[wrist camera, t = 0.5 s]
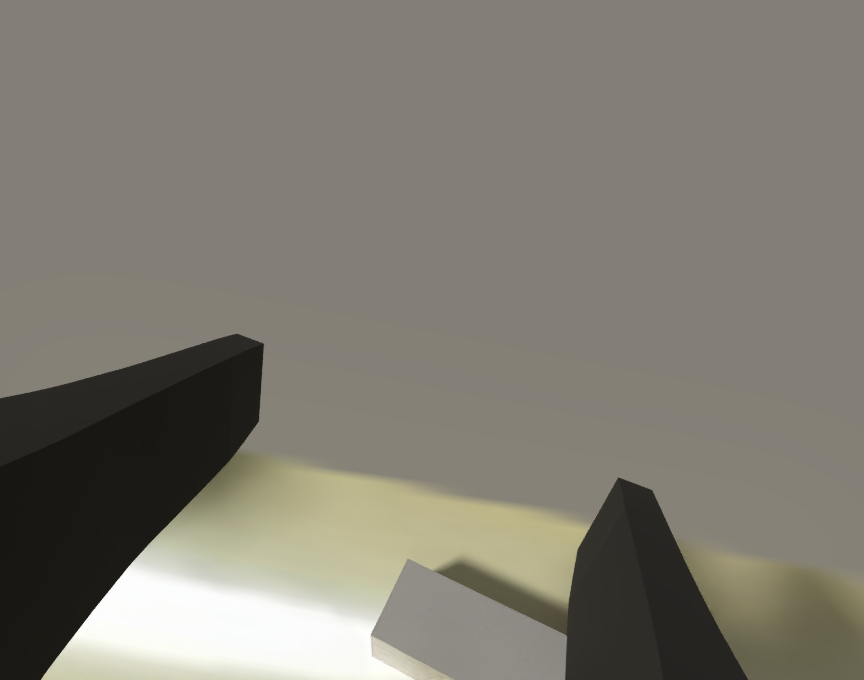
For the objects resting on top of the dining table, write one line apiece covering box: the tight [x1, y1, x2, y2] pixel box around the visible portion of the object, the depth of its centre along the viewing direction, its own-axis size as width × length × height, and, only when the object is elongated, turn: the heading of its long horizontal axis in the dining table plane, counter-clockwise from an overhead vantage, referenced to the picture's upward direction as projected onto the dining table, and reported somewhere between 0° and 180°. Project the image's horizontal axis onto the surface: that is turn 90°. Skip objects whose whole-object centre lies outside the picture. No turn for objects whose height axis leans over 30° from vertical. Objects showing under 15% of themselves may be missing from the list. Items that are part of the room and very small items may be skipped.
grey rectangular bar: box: [371, 559, 567, 680], centre depth 24 cm, size 4×13×4 cm, turn 66°
